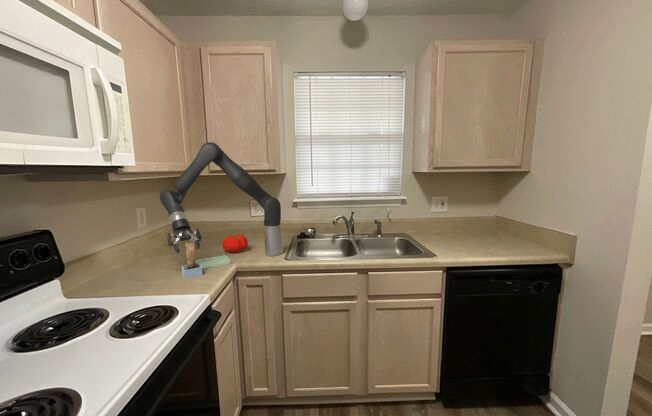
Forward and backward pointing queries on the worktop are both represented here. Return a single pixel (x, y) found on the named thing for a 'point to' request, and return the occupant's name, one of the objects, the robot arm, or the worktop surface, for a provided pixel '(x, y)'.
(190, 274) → the pale blue open box
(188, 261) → the dowel
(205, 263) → the tray
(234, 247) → the tomato
